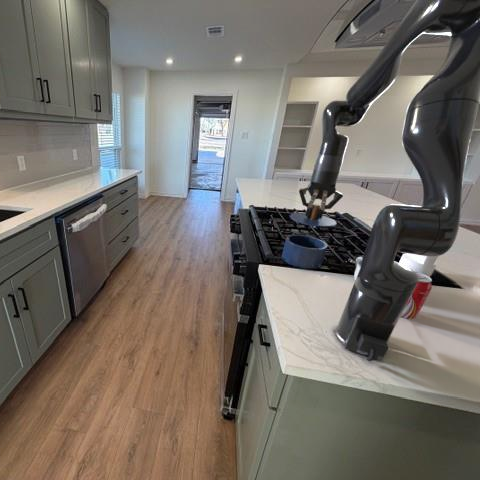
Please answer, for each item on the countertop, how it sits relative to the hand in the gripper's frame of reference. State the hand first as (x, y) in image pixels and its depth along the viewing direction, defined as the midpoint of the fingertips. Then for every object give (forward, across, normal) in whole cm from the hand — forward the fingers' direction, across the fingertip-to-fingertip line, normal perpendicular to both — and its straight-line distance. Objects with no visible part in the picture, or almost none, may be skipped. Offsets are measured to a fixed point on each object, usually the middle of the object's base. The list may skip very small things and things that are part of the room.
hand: (312, 218), depth 91 cm
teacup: (+18, +20, -7) cm, 28 cm away
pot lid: (+1, 0, 0) cm, 1 cm away
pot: (+18, 0, 0) cm, 18 cm away
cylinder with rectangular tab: (+18, +36, +11) cm, 42 cm away
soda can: (+18, +25, -20) cm, 37 cm away
